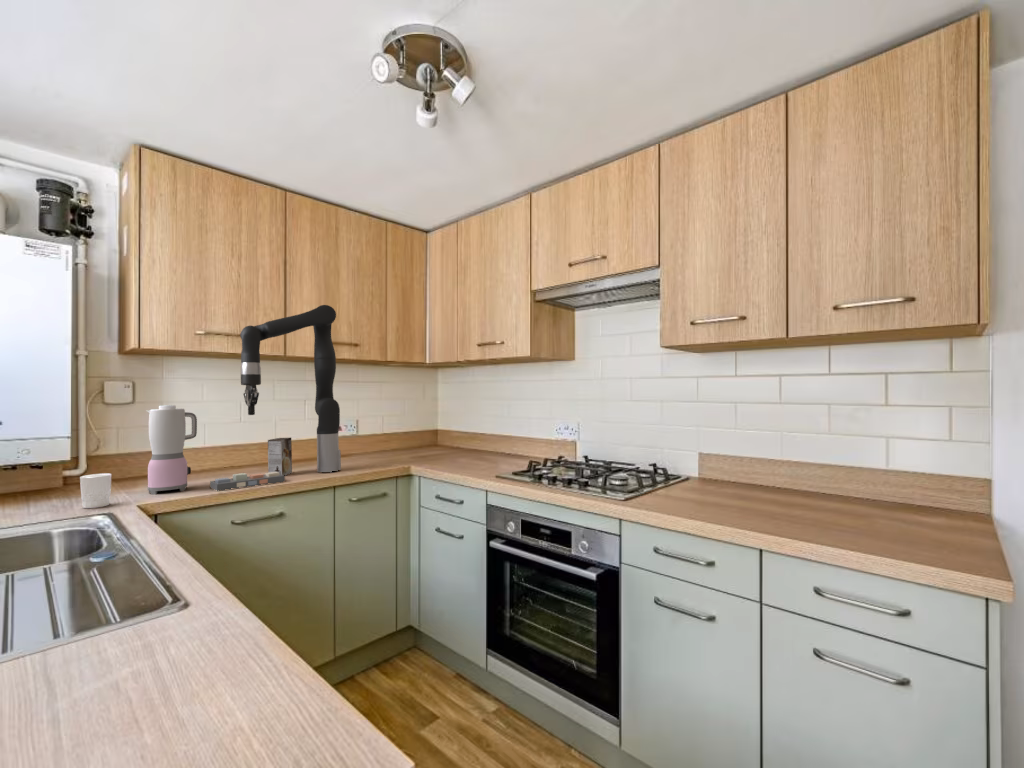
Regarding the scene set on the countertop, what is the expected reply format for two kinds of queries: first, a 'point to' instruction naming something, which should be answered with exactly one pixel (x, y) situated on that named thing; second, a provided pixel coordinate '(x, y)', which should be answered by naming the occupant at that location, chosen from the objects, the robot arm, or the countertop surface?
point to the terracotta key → (256, 476)
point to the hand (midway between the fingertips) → (251, 414)
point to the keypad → (246, 482)
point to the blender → (168, 448)
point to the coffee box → (280, 455)
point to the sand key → (272, 474)
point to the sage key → (239, 476)
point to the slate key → (222, 480)
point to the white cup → (95, 490)
